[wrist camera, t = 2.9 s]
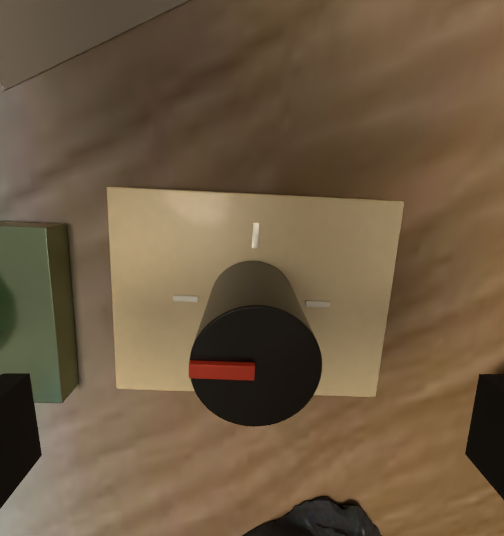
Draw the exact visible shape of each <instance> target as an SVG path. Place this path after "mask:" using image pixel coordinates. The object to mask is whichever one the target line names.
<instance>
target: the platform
mask: <svg viewBox="0 0 504 536" xmlns="http://www.w3.org/2000/svg"><path fill="white" fill-rule="evenodd" d="M186 1H189V0H0V81H1V83H2V85H3V87H4V89H5V90H6V89H8V88H10V87H12V86H14V85H17V84H19V83H21V82H23V81H25V80H27V79H29V78H31V77H33V76H35V75H37V74H39V73H41V72H43V71H45V70H47V69H49V68H51V67H53V66H55V65H57V64H60V63H62V62H64V61H66V60H68V59H70V58H72V57H74V56H76V55H78V54H80V53H82V52H84V51H86V50H88V49H90V48H92V47H94V46H96V45H98V44H100V43H103V42H105V41H107V40H109V39H111V38H113V37H115V36H117V35H119V34H121V33H123V32H125V31H127V30H129V29H131V28H133V27H135V26H137V25H139V24H141V23H143V22H146V21H148V20H150V19H152V18H154V17H156V16H158V15H160V14H162V13H164V12H166V11H168V10H170V9H172V8H174V7H176V6H178V5H180V4H182V3H184V2H186Z"/></svg>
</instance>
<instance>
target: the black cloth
mask: <svg viewBox="0 0 504 536" xmlns="http://www.w3.org/2000/svg"><path fill="white" fill-rule="evenodd" d="M244 536H381V535H380V532H379V530H378V528H377V527H375V526H374V525H373V524H372V522H371V520H369V518H368V516H367V515H366V514H365V513H364V511H363V510H362V509H361V507H359V506H351V505H342V510H341V508H340V507H339V506H337V505H336V504H334V503H332V502H331V501H330V500H329V499H328V498H327V497H319V498H316V499H315V500H314V501H311V502H310V501H306V502H304V503H303V504H301V505H300V506H295V507H294V508H293V510H292V512H291V513H290V514H288V515H286V516H285V517H283V518H281V519H278V520H276V521H271V522H268V523H266V524H265V525H263V526H259V527H257V528H255V529H254V530H252V531H250V532H248V533H247V534H245V535H244Z"/></svg>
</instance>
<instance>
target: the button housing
mask: <svg viewBox="0 0 504 536" xmlns="http://www.w3.org/2000/svg"><path fill="white" fill-rule="evenodd" d="M3 373H30V378H31V385H32V392H33V399H34V403H63V402H64V401H65V399H66V398H67V397H68V396H69V395H70V394H71V392H72V391H73V390H74V389H75V388H76V387H77V385H78V384H79V381H78V368H77V355H76V342H75V329H74V316H73V303H72V290H71V277H70V264H69V251H68V238H67V226H66V224H58V223H36V222H14V221H0V375H1V374H3Z"/></svg>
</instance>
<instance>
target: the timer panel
mask: <svg viewBox="0 0 504 536" xmlns="http://www.w3.org/2000/svg"><path fill="white" fill-rule="evenodd" d="M107 203H108V223H109V243H110V264H111V284H112V305H113V325H114V346H115V366H116V387H117V389H140V390H171V391H195V390H194V388H193V385H192V383H191V379H190V378H189V358H190V353H191V349H192V346H193V343H194V340H195V338H196V335H197V332H198V329H199V326H200V323H201V320H202V317H203V314H204V311H205V308H206V305H207V302H208V299H209V296H210V293H211V290H212V288H213V285H214V283H215V281H216V279H217V278H218V277H219V275H220V274H221V273H222V272H223V271H225V270H226V269H227V268H229V267H230V266H232V265H234V264H236V263H239V262H243V261H261V262H265V263H268V264H271V265H272V266H274V267H276V268H277V269H279V270H280V271H281V272H282V273H283V274H284V275H285V276H286V278H287V279H288V281H289V282H290V284H291V286H292V289H293V291H294V293H295V295H296V297H297V299H298V301H299V304H300V306H301V308H302V310H303V312H304V314H305V316H306V318H307V321H308V323H309V325H310V327H311V329H312V331H313V333H314V336H315V338H316V340H317V342H318V345H319V347H320V351H321V355H322V374H321V379H320V382H319V385H318V387H317V389H316V391H315V394H314V395H326V396H356V397H375V396H376V389H377V383H378V376H379V369H380V363H381V356H382V349H383V342H384V336H385V329H386V322H387V316H388V309H389V302H390V295H391V289H392V282H393V275H394V269H395V262H396V255H397V248H398V242H399V235H400V228H401V222H402V215H403V208H404V201H392V200H375V199H355V198H335V197H314V196H294V195H274V194H253V193H233V192H213V191H193V190H172V189H152V188H132V187H107Z"/></svg>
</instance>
